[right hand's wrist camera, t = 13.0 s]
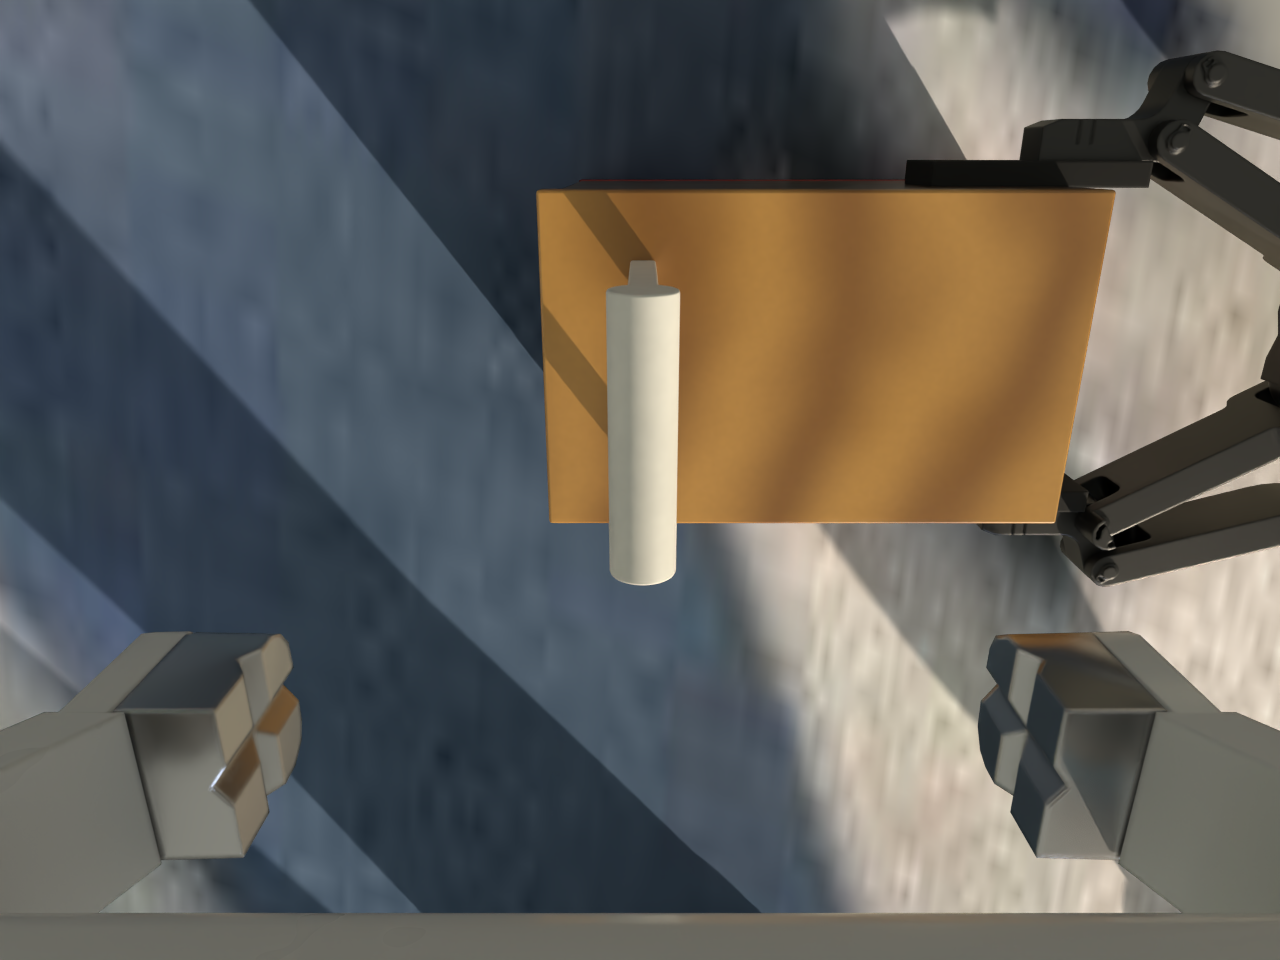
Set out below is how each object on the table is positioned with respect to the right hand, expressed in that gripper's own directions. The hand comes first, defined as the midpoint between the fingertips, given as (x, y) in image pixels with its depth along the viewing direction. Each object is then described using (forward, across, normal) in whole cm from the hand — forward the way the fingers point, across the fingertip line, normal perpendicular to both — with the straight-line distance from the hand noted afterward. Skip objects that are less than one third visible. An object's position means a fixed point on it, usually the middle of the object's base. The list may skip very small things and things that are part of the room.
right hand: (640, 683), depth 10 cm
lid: (+17, +5, 0) cm, 17 cm away
